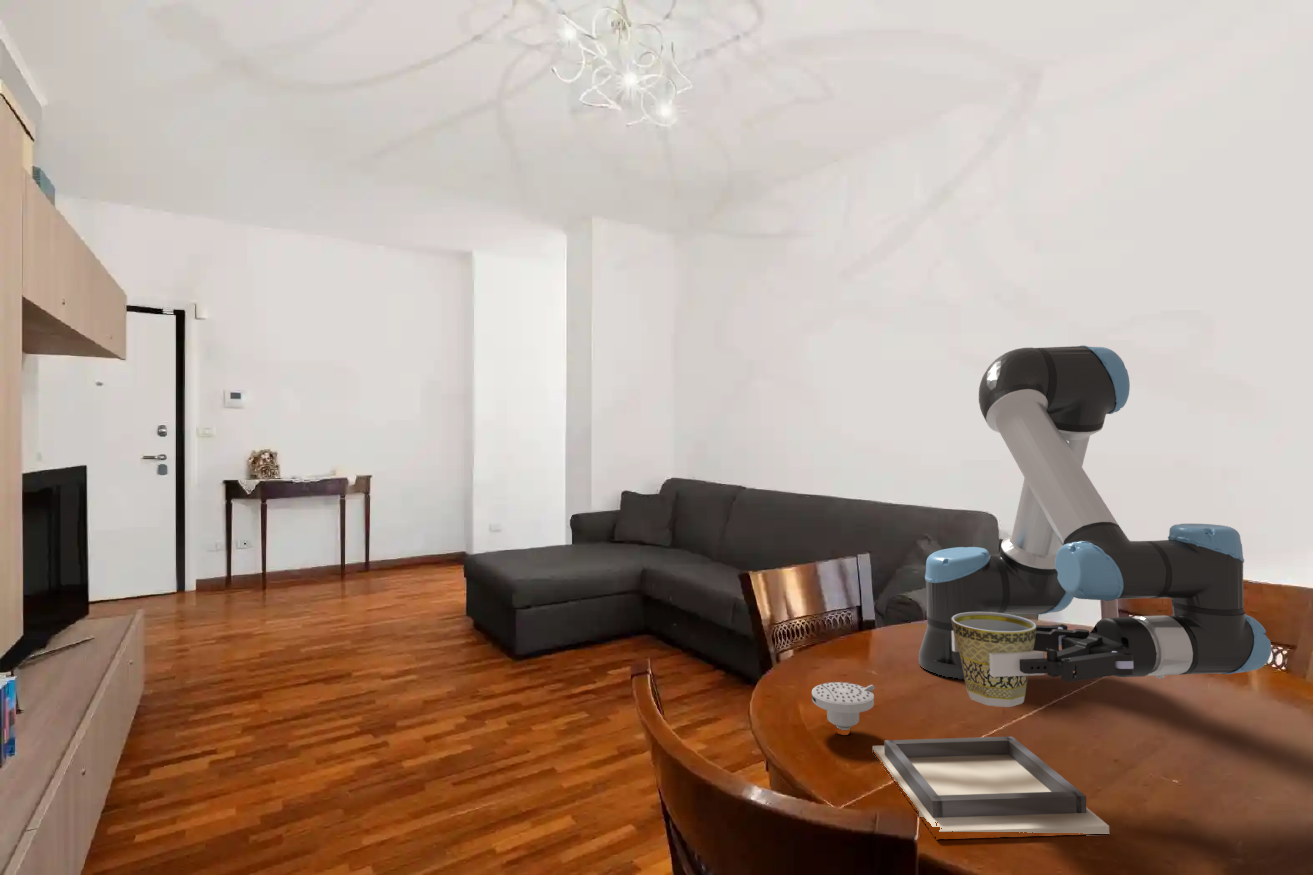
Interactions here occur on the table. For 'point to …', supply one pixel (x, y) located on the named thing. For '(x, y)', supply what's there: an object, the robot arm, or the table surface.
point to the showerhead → (843, 702)
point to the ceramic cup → (992, 636)
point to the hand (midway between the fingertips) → (971, 652)
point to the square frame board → (986, 787)
